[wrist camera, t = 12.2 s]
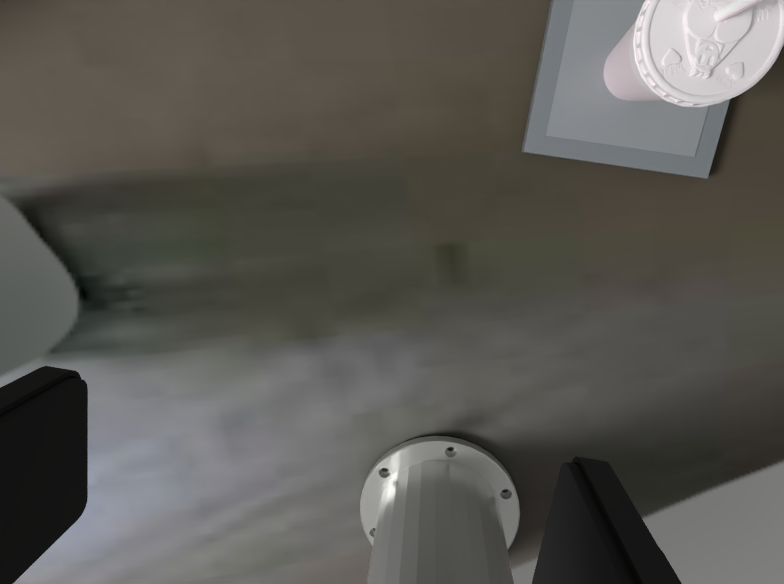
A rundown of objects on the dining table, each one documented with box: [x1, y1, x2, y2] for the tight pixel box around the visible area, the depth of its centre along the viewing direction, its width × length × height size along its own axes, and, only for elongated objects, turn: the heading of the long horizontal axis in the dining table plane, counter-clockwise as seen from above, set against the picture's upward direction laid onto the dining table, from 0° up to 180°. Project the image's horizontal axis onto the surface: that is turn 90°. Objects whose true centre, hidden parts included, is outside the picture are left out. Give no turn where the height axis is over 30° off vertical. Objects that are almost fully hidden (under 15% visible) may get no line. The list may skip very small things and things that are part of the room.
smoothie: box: [604, 0, 784, 107], centre depth 26 cm, size 6×6×14 cm
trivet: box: [521, 0, 730, 179], centre depth 33 cm, size 12×12×1 cm
